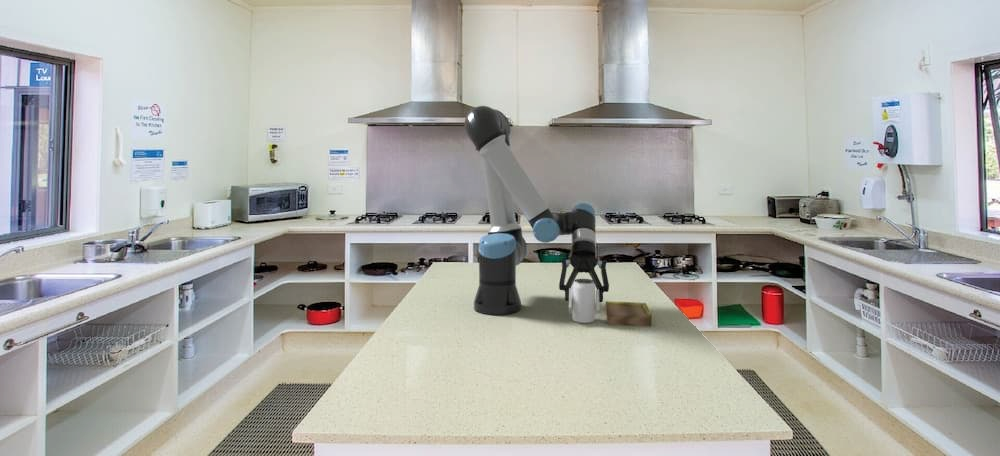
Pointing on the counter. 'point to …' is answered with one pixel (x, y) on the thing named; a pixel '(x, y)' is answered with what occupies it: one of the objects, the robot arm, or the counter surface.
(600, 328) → the counter surface
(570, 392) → the counter surface
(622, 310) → the dock
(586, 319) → the can
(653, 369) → the counter surface
